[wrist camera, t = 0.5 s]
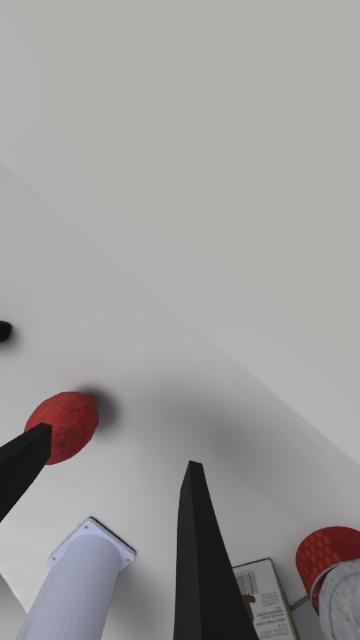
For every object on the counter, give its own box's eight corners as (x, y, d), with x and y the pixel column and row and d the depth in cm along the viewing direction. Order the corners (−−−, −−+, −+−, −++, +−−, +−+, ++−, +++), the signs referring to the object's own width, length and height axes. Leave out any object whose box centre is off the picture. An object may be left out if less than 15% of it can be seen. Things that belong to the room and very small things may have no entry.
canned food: (276, 522, 27) (277, 613, 18) (325, 485, 25) (353, 568, 16) (358, 620, 22) (412, 806, 13) (428, 585, 20) (550, 782, 11)
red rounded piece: (107, 377, 20) (55, 428, 12) (113, 423, 21) (67, 500, 13) (59, 379, 20) (-23, 430, 12) (66, 424, 21) (-7, 500, 13)
